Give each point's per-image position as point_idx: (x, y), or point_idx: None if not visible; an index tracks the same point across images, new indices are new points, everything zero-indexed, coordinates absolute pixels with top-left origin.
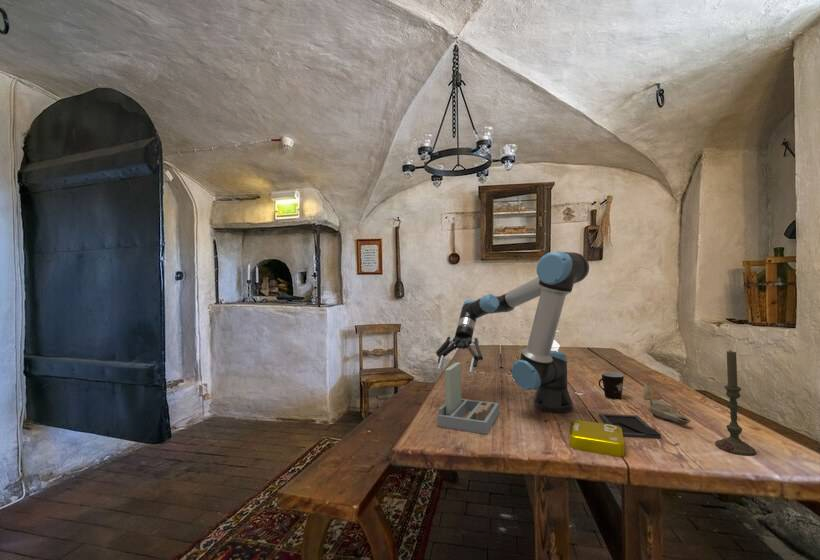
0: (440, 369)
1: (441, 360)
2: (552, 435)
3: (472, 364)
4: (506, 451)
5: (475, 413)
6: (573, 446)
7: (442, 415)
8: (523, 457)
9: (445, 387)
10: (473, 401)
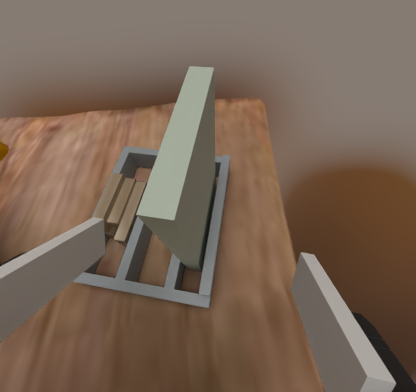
0: (297, 273)
1: (331, 304)
2: (12, 181)
3: (50, 241)
4: (111, 120)
5: (143, 182)
6: (4, 144)
7: (219, 159)
8: (92, 112)
9: (214, 131)
10: (144, 284)
